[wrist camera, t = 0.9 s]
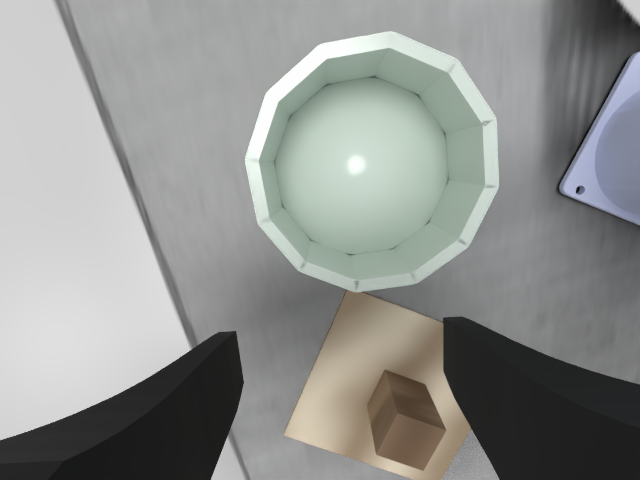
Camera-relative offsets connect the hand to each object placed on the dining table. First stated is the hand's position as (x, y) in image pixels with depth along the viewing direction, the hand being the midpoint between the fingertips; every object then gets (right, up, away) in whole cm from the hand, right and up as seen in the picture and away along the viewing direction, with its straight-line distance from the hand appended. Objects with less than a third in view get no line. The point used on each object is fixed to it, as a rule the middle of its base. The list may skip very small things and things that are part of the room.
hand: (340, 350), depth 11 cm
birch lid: (+4, -7, +12) cm, 14 cm away
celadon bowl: (+2, +8, +8) cm, 12 cm away
